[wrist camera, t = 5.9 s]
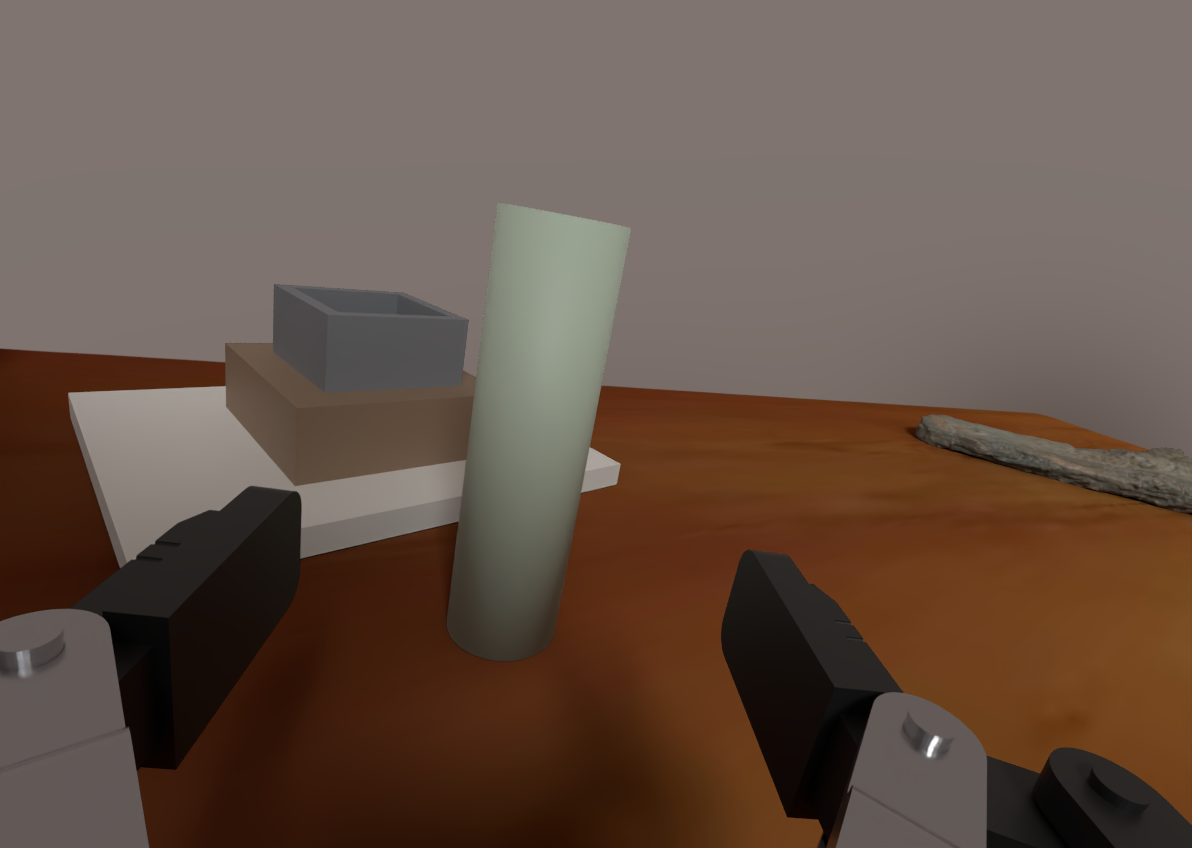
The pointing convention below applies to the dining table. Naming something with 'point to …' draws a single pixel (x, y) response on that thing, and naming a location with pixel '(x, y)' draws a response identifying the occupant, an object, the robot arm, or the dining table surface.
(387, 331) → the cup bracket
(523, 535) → the green dowel
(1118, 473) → the elongated rock
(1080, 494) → the dining table surface
